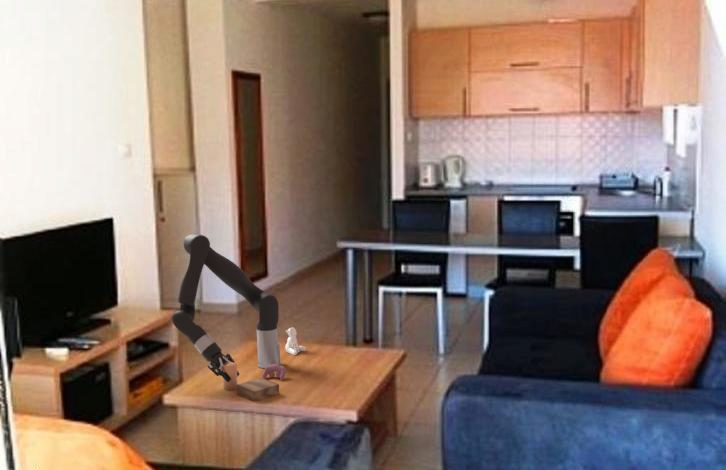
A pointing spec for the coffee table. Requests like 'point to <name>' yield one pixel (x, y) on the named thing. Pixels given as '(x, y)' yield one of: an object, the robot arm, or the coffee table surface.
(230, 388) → the peach orange capsule
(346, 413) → the coffee table surface
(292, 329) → the seated beast figurine
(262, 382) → the walnut block
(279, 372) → the pink gamepad
